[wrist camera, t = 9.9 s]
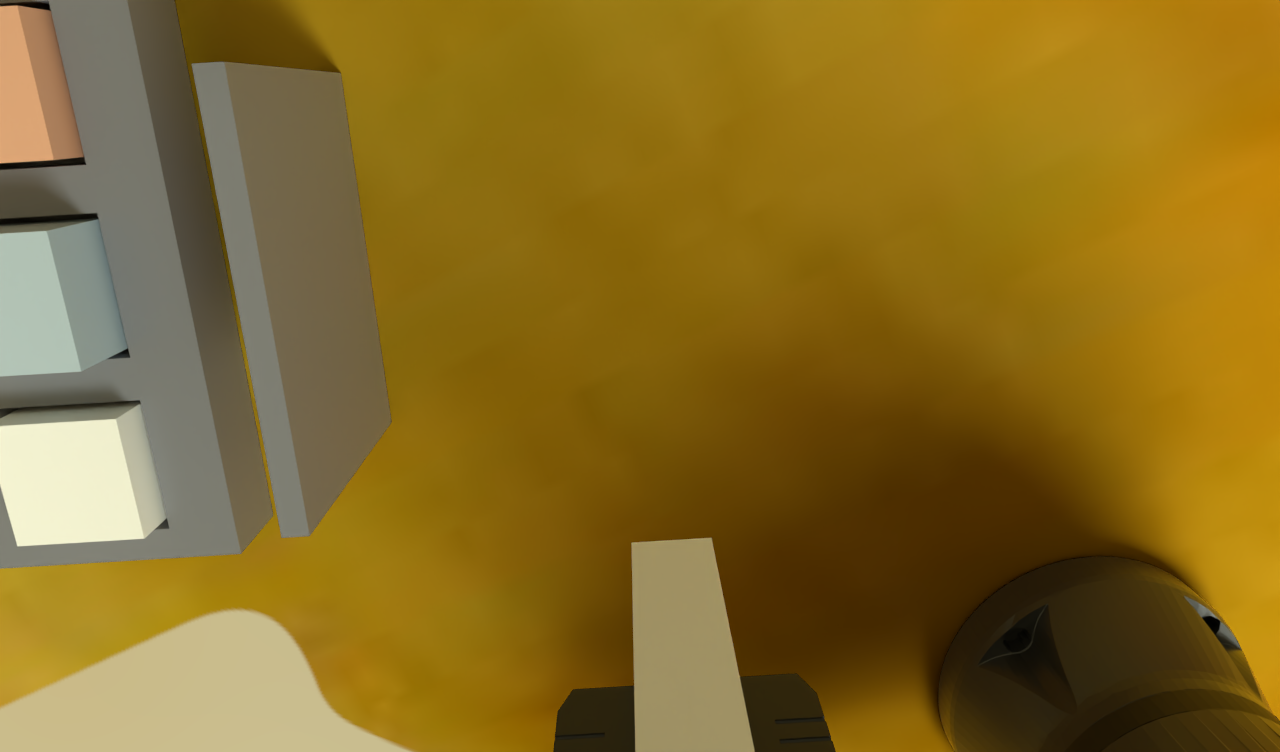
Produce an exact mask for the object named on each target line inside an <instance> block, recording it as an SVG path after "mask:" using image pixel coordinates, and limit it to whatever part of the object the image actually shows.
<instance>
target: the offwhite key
mask: <svg viewBox="0 0 1280 752" xmlns="http://www.w3.org/2000/svg"><path fill="white" fill-rule="evenodd" d="M0 487H1V490H2V494H3V497H4V501H5V504H6V508H7V511H8V515H9V518H10V522H11V525H12V529H13V532H14V536H15V539H16V543H17V546H33V545H49V544H66V543H82V542H98V541H115V540H131V539H145V538H146V537H147V536H148V535H149V534H150V533H151V532H152V531H153V530H154V529H156V528H157V527H158V526H159V525H160V524H161V523H162V522H163V521H164V520H165V519H166V518H167V516H166V511H165V507H164V503H163V498H162V494H161V490H160V485H159V481H158V476H157V472H156V468H155V463H154V459H153V455H152V450H151V446H150V441H149V437H148V433H147V428H146V424H145V420H144V415H143V411H142V407H141V402H140V400H135V401H119V402H102V403H86V404H69V405H53V406H36V407H22V408H20V409H18V410H16V411H14V412H12V413H10V414H8V415H6V416H4V417H2V418H0Z"/></svg>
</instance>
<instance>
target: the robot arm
mask: <svg viewBox="0 0 1280 752" xmlns="http://www.w3.org/2000/svg"><path fill="white" fill-rule="evenodd" d="M632 595H633V649H634V686H621V687H605V688H589V689H573V690H572V692H571V693H570V695H569V696H568V698H567V699H566V700H565V702H564V703H563V705H562V706H561V707H560V709H559V710H558V714H557V723H556V732H555V742H554V751H553V752H836V751H835V748H834V745H833V742H832V741H831V736H830V733H829V730H828V727H827V724H826V721H825V720H824V714H823V711H822V708H821V705H820V702H819V699H818V696H817V693H816V692H815V691H814V690H813V689H812V688H811V687H810V686H809V685H808V684H807V683H806V682H805V681H804V680H803V679H802V678H801V677H800V676H799V675H798V674H797V673H796V674H779V675H763V676H747V677H740V676H739V671H738V666H737V661H736V656H735V651H734V646H733V642H732V637H731V632H730V627H729V622H728V617H727V612H726V607H725V602H724V597H723V592H722V587H721V582H720V577H719V572H718V567H717V562H716V557H715V552H714V547H713V543H712V538H698V539H682V540H665V541H649V542H633V543H632ZM938 704H939V713H940V718H941V722H942V726H943V729H944V731H945V734H946V736H947V738H948V740H949V742H950V744H951V746H952V748H953V750H954V752H1280V721H1279V720H1278V718H1277V717H1276V716H1275V715H1274V714H1273V713H1272V711H1271V709H1270V707H1269V705H1268V703H1267V701H1266V699H1265V697H1264V695H1263V692H1262V690H1261V688H1260V686H1259V684H1258V682H1257V680H1256V678H1255V676H1254V674H1253V672H1252V670H1251V668H1250V666H1249V664H1248V662H1247V660H1246V658H1245V655H1244V653H1243V651H1242V649H1241V647H1240V645H1239V643H1238V641H1237V639H1236V637H1235V636H1234V634H1233V632H1232V631H1231V629H1230V628H1229V626H1228V625H1227V624H1226V622H1225V621H1224V620H1223V619H1222V617H1221V616H1220V615H1219V614H1218V613H1217V612H1216V611H1215V610H1214V609H1213V608H1212V607H1211V606H1210V605H1209V604H1208V603H1207V602H1206V601H1204V600H1203V599H1202V598H1201V597H1200V596H1199V595H1197V594H1196V593H1195V592H1194V591H1193V590H1192V589H1191V588H1189V587H1188V586H1187V585H1186V584H1184V583H1183V582H1182V581H1181V580H1179V579H1178V578H1176V577H1175V576H1173V575H1172V574H1170V573H1168V572H1166V571H1164V570H1162V569H1160V568H1157V567H1155V566H1153V565H1150V564H1147V563H1144V562H1140V561H1136V560H1132V559H1126V558H1119V557H1103V556H1101V557H1084V558H1076V559H1070V560H1065V561H1061V562H1057V563H1054V564H1050V565H1047V566H1044V567H1041V568H1039V569H1036V570H1034V571H1032V572H1029V573H1027V574H1025V575H1023V576H1021V577H1019V578H1017V579H1015V580H1014V581H1012V582H1010V583H1009V584H1007V585H1006V586H1004V587H1003V588H1001V589H1000V590H998V591H997V592H996V593H994V594H993V595H992V596H991V597H989V598H988V599H987V600H986V601H985V602H984V603H983V604H981V605H980V606H979V607H978V608H977V610H976V611H975V612H974V613H973V614H972V615H971V616H970V617H969V618H968V620H967V621H966V622H965V624H964V625H963V626H962V628H961V629H960V630H959V632H958V634H957V635H956V637H955V639H954V640H953V642H952V644H951V646H950V648H949V650H948V653H947V655H946V658H945V661H944V663H943V667H942V671H941V675H940V680H939V689H938Z"/></svg>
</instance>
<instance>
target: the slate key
mask: <svg viewBox="0 0 1280 752" xmlns="http://www.w3.org/2000/svg"><path fill="white" fill-rule="evenodd" d="M127 348H128V345H127V341H126V337H125V332H124V328H123V324H122V319H121V315H120V310H119V306H118V302H117V297H116V293H115V289H114V284H113V280H112V275H111V271H110V267H109V262H108V258H107V254H106V249H105V245H104V240H103V236H102V232H101V227H100V223H99V219H98V218H93V219H76V220H60V221H43V222H27V223H11V224H0V376H16V375H32V374H49V373H65V372H81V371H83V370H85V369H87V368H89V367H91V366H93V365H95V364H97V363H99V362H101V361H103V360H105V359H107V358H109V357H111V356H113V355H115V354H117V353H119V352H121V351H123V350H125V349H127Z"/></svg>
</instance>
